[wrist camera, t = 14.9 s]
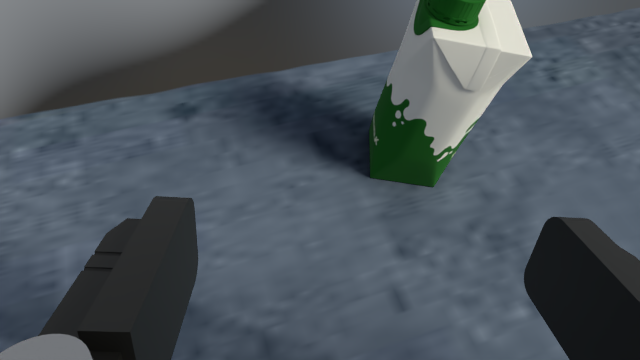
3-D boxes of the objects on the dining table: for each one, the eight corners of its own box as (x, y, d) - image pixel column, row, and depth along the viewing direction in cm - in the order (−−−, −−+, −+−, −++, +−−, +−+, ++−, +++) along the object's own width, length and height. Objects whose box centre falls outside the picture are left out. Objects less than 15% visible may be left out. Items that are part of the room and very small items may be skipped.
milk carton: (361, 123, 49) (425, -50, 33) (434, 135, 50) (532, -27, 34) (361, 184, 44) (438, 14, 28) (443, 196, 45) (563, 39, 29)
